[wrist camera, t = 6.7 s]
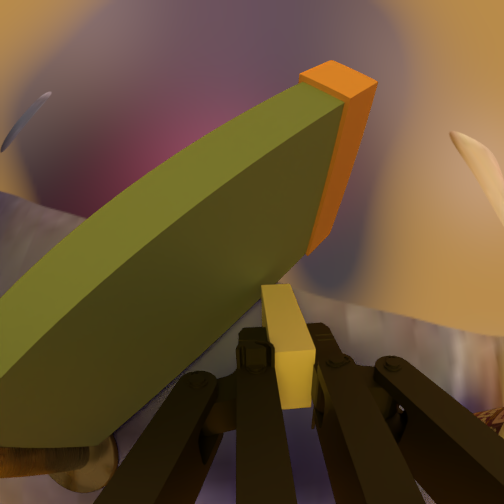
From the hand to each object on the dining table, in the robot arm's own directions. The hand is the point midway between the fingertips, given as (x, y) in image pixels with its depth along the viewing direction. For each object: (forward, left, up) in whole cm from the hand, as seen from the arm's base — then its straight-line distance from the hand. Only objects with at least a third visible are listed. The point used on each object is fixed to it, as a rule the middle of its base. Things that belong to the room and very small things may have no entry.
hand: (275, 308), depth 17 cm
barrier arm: (-3, -5, -2) cm, 6 cm away
